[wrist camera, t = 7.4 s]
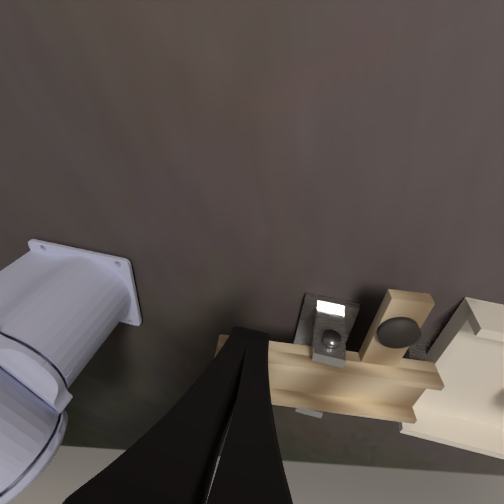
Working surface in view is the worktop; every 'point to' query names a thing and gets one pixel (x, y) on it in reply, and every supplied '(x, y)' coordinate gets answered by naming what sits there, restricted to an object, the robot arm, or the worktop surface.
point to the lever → (360, 367)
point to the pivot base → (333, 333)
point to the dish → (466, 382)
